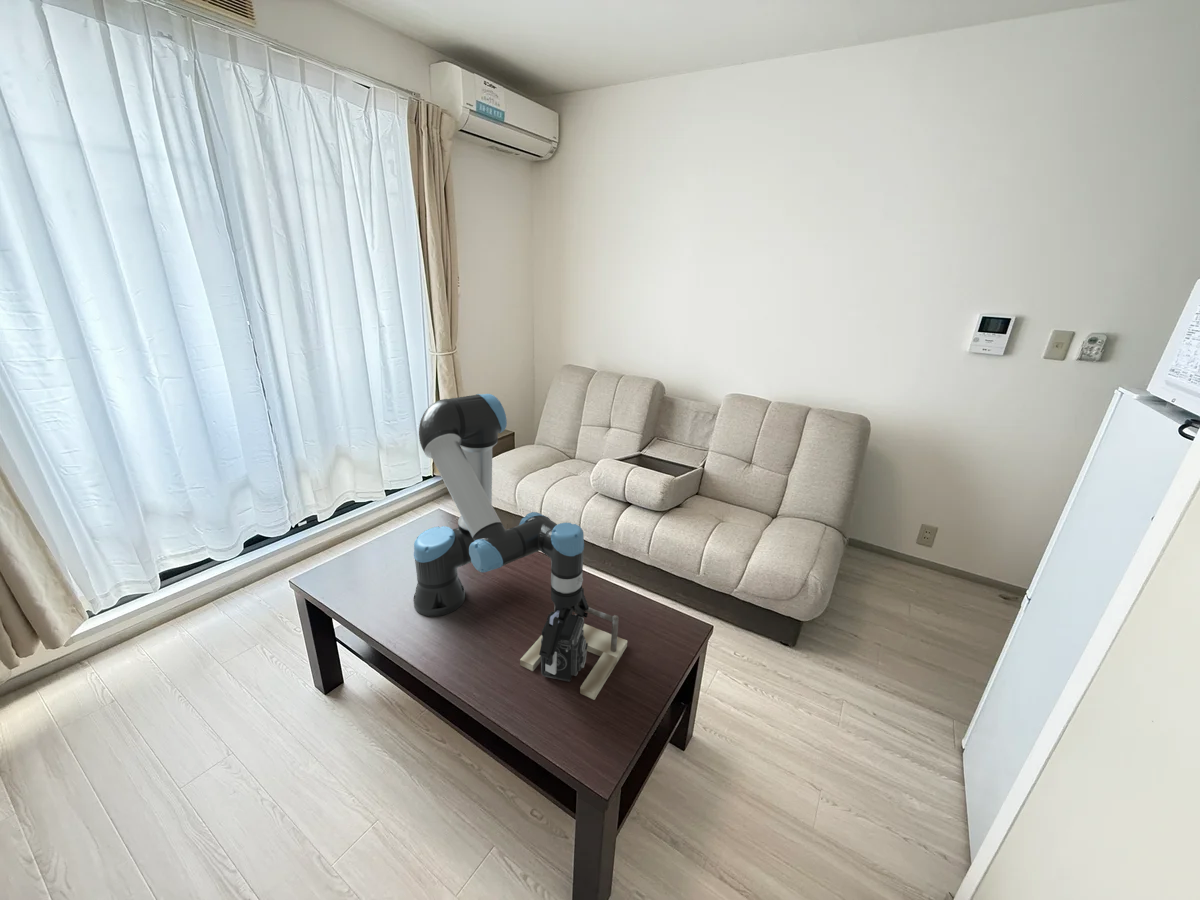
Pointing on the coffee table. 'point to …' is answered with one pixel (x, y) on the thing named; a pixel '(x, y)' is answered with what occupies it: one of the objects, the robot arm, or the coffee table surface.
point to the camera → (568, 650)
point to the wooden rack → (598, 644)
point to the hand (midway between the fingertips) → (565, 653)
